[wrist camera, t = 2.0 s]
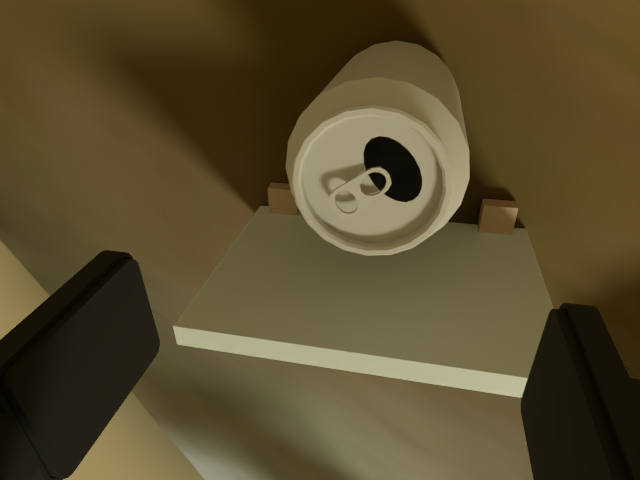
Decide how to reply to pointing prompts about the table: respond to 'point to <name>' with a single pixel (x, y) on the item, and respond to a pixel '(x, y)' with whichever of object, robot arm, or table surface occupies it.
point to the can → (381, 151)
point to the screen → (379, 301)
